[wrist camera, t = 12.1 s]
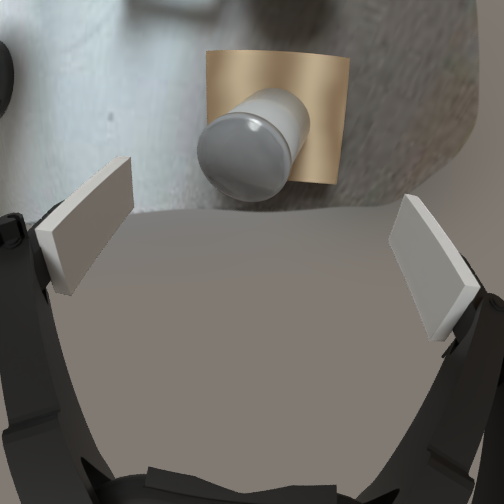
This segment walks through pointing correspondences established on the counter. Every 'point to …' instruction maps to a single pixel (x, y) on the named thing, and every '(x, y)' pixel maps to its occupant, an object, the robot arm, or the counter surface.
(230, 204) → the counter surface
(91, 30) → the counter surface
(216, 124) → the canister
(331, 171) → the oak block
